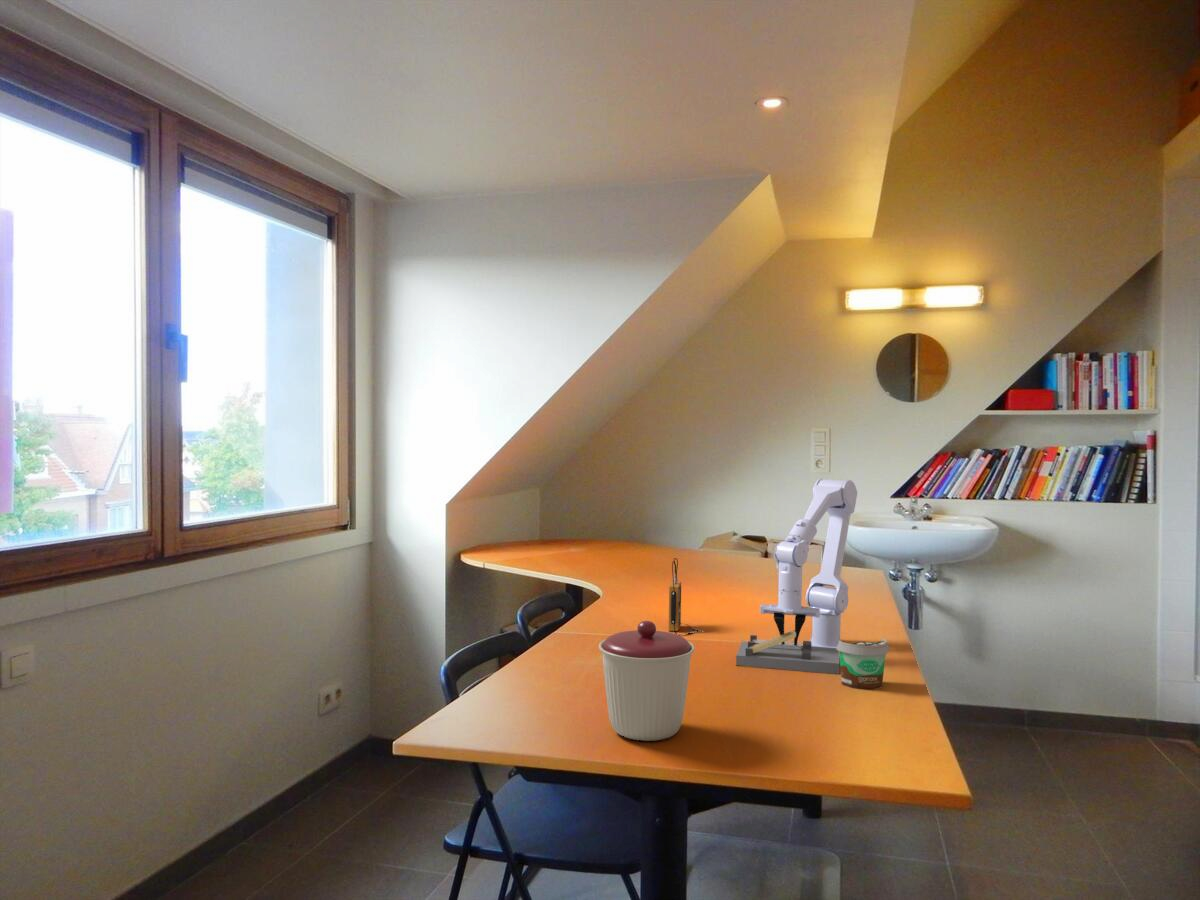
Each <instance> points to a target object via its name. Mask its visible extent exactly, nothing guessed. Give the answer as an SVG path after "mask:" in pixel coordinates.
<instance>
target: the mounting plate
mask: <svg viewBox="0 0 1200 900" xmlns="http://www.w3.org/2000/svg"><path fill="white" fill-rule="evenodd" d="M749 636H750V637H749V640H748V641H745V640H744V641H742V640H741V642H740V645H739V647H738V650H737V652H736V656H735V658H736V661H735V666H736V665H743V666H742V667H745V666H752V667H751V668H757V667H762V668H761V669H769V668H775V669H774V670H781V669H785V670H784V671H794V670H796V671H797V672H805V673H806V672H807V673H820V674H831V675H840V655H839V651H838V650H836V649H837V648H826V647H812V646H811V640H803V642H802V647H801V650H795V649H781V648H766V649H763V650H761V651H758V652H755V653H753V648H749V647H751V646H753V645H755V642H754V641H753V639H758V635H754V634H750V635H749ZM796 671H795V672H796Z"/></svg>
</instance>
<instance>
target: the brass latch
mask: <svg viewBox="0 0 1200 900" xmlns="http://www.w3.org/2000/svg"><path fill="white" fill-rule="evenodd" d="M795 637H796V632H795V629H794V630H790V631H788V632H784V634H782V635H780V634H779V635H777V636H775V637H773V638H770V639H766V640H767V641H764V642H761V643H759V644H756V645H753V646H751V647H749V648H753V653H755V652H758V651H761V650H763V649H766V648H769V647H771V646H774V645H777V644H779V643H782V642H784V641H789V640H792V639H794V638H795Z"/></svg>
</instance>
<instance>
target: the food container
mask: <svg viewBox="0 0 1200 900" xmlns="http://www.w3.org/2000/svg"><path fill="white" fill-rule="evenodd" d="M841 641H842V640H841ZM841 641H839V644H837V649H836V650H838V651H839V669H840V677H841V678H840V679H841V681H840V682H841V685H842V686H844V687H848V688H850V689H857V690H867V691H870V690H872V691H873V690H877V689H880V688H882V686H883V682H884V681H883V680H884V672H885V671H884V670H885V664H886V656H887V655H886V654H888V653H889V652H890V648H889V644H888V641H887V639H886V638H884V637H882V638H881V641H873V642H871V641H857V642H853V643H848V642H843V641H842V642H841Z"/></svg>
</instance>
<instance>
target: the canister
mask: <svg viewBox="0 0 1200 900" xmlns="http://www.w3.org/2000/svg"><path fill="white" fill-rule="evenodd" d="M598 649H599V651H600V652H601V653H602V664H603V675H604V684H605V685H604V687H605V695H606V703H607V711H608V718H609V722H610V725H611V727H612V729H613V730H614V731H615V732H616V733H617V734H618V735H620V736H622V737H623V736H624V737H623V738H625V739H626V738H627V739H629V740H635V741H639V740H640V741H641V740H642V741H643V742H653V741H660V740H661V741H662V740H665V739H669V738H671V737H673V736H674V735H675V734H676V733H678V731H679V730H680V728H681V726H682V722H683V718H684V712H685V707H686V699H687V691H688V684H689V675H690V668H691V666H690V665H691V659H692V658H691V655H692V654H693V653H694V652H695V650H696V649H695V645H694V644H693V643H692V642H691V641H688V639H686V638H685V637H683V636H680V634H679V635H677V634H675V633H673V632H670V631H662V630H657V627H656V624H655V623H654V622H652V621H651V620H643V621H640V622H639V623H638V625H637V628H636V630H635V629H634V630H626V631H621V632H616V633H614V634H611V635H609V636H608V637H606V638H605V639H603V640H601V641H600V642H599V644H598ZM642 741H641V742H642Z"/></svg>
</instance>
